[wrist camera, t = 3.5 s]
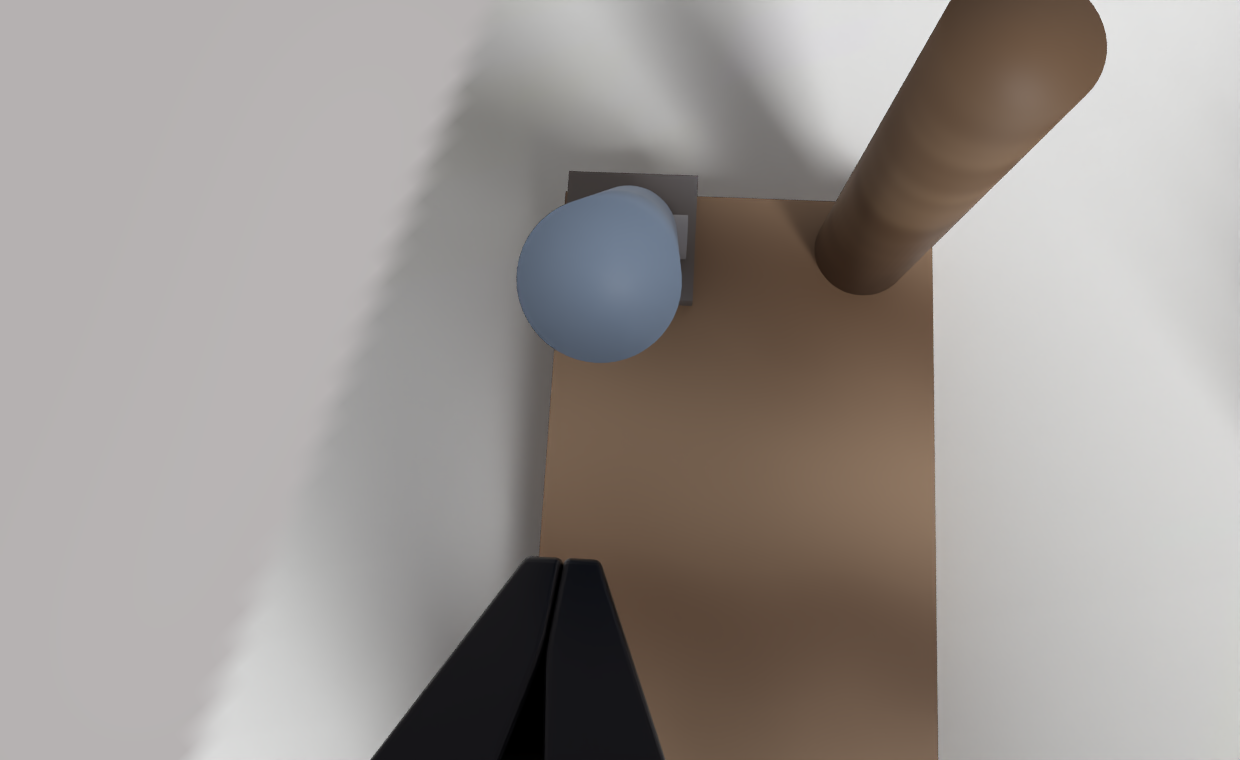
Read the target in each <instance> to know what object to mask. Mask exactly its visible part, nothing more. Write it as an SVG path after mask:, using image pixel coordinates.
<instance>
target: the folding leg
mask: <svg viewBox="0 0 1240 760" xmlns="http://www.w3.org/2000/svg"><path fill="white" fill-rule="evenodd" d="M687 234H688V215H673V214H672V212H671V210H670V208H669V207H668V205H667V204H666V203H665V202H664V201H663V200H662V199H661V198H660V197H659V196H658V195H656V194H655V193H653V192H652V191H650V190H648V189H645V188H642V187H638V186H631V185H628V186H619V187H615V188H612V189H609V190H606V191H603V192H600V193H597V194H594V195H591V196H588V197H585V198H582V199H579V200H576V201H573V202H570V203H567V204H565V205H563V206H561V207H559V208H557V209H555V210H554V211H552V212H551V213H549V214H548V215H547V216H546V217H545V218H543V219H542V220H541V221H540V222H539V223H538V224H537V226H536V227H535V228H534V229H533V231H532V232H531V234H530V235H529V236H528V238H527V240H526V242H525V244H524V246H523V248H522V251H521V254H520V257H519V262H518V267H517V291H518V296H519V301H520V304H521V307H522V310H523V312H524V314H525V316H526V318H527V320H528V322H529V323H530V325H531V326H532V328H533V329H534V331H535V332H536V333H537V334H538V335H539V336H540V338H542V339H543V340H544V341H545V342H546V343H547V344H548V345H550V346H551V347H552V348H554V349H555V350H557V351H558V352H560V353H562V354H564V355H566V356H569V357H571V358H574V359H577V360H581V361H585V362H593V363H609V362H616V361H620V360H624V359H627V358H630V357H632V356H635V355H637V354H639V353H640V352H642V351H644V350H645V349H647V348H648V347H650V346H651V345H652V344H653V343H655V342H656V341H657V340H658V339H659V338H660V337H661V336H662V334H663V333H664V332H665V330H666V329H667V328H668V326H669V325H670V323H671V321H672V319H673V318H674V315H675V313H676V310H677V308H678V304H679V301H680V297H681V288H682V274H681V264H680V259H686V251H687Z"/></svg>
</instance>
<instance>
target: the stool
mask: <svg viewBox="0 0 1240 760" xmlns="http://www.w3.org/2000/svg"><path fill="white" fill-rule="evenodd" d="M1106 54H1107V40H1106V33H1105V30H1104V26H1103V23H1102V21H1101V18H1100V16H1099V14H1098V12H1097V11H1096V9H1095V7H1094V6H1093V5H1092V3H1091V2H1090V1H1089V0H951V1H950V2H949V4H948V6H947V8H946V9H945V11H944V13H943V15H942V16H941V18H940V20H939V22H938V23H937V25H936V27H935V29H934V30H933V32H932V34H931V36H930V37H929V39H928V41H927V43H926V44H925V46H924V48H923V50H922V51H921V53H920V55H919V57H918V58H917V60H916V62H915V64H914V65H913V67H912V69H911V71H910V73H909V74H908V76H907V78H906V80H905V81H904V83H903V85H902V87H901V88H900V90H899V92H898V94H897V95H896V97H895V99H894V101H893V102H892V104H891V106H890V108H889V109H888V111H887V113H886V115H885V116H884V118H883V120H882V122H881V123H880V125H879V127H878V129H877V130H876V132H875V134H874V136H873V137H872V139H871V141H870V143H869V144H868V146H867V148H866V150H865V151H864V153H863V155H862V157H861V158H860V160H859V162H858V164H857V165H856V167H855V169H854V171H853V172H852V174H851V176H850V178H849V179H848V181H847V183H846V185H845V186H844V188H843V190H842V192H841V193H840V195H839V197H838V199H837V200H836V202H834V201H808V200H781V199H754V198H727V197H701V196H697V187H698V176H690V175H662V174H634V173H607V172H579V171H569V181H568V192H567V191H566V194H565V204H567V203H570V202H573V201H576V200H579V199H582V198H585V197H588V196H591V195H594V194H597V193H600V192H603V191H606V190H609V189H612V188H615V187H619V186H628V185H631V186H638V187H642V188H645V189H648V190H650V191H652V192H653V193H655V194H656V195H658V196H659V197H660V198H661V199H662V200H663V201H664V202H665V203H666V204H667V205H668V207H669V208H670V210H671V212H672V214H673V215H688V234H687V251H686V259H680V264H681V274H682V288H681V297H680V301H679V304H678V308H677V310H676V313H675V315H674V318H673V319H672V321H671V323H670V325H669V326H668V328H667V329H666V330H665V332H664V333H663V334H662V336H661V337H660V338H659V339H658V340H657V341H656V342H655V343H653V344H652V345H651V346H650V347H648V348H647V349H645V350H644V351H642V352H640V353H639V354H637V355H635V356H632V357H630V358H627V359H624V360H620V361H616V362H609V363H593V362H585V361H581V360H577V359H574V358H571V357H569V356H566V355H564V354H562V353H560V352H558V351H557V350H555V349H554V358H553V372H552V386H551V399H550V413H549V427H548V440H547V454H546V467H545V481H544V495H543V508H542V522H541V536H540V549H539V557H557V558H560V559H561V560H562V561H563V563H564V562H565V560H567V559H569V558H579V559H596V560H598V561H600V563H601V564H602V566H603V569H604V572H605V575H606V578H607V581H608V584H609V587H610V591H611V594H612V597H613V600H614V603H615V606H616V609H617V612H618V615H619V618H620V621H621V624H622V627H623V630H624V634H625V637H626V640H627V643H628V646H629V649H630V652H631V655H632V658H633V661H634V664H635V667H636V670H637V673H638V677H639V680H640V683H641V686H642V689H643V692H644V695H645V698H646V701H647V704H648V707H649V710H650V713H651V716H652V720H653V723H654V726H655V729H656V732H657V735H658V738H659V741H660V744H661V747H662V750H663V753H664V756H665V759H666V760H938V714H937V626H936V539H935V451H934V363H933V275H932V247H933V246H934V245H935V244H936V243H937V242H938V241H939V240H940V239H941V238H942V237H943V236H944V235H945V234H946V233H947V232H948V231H949V230H950V229H951V228H952V227H953V226H954V225H955V224H956V223H957V222H958V221H959V220H960V219H961V218H962V217H963V216H964V215H965V214H966V213H967V212H968V211H969V210H970V209H971V208H972V207H973V206H974V205H975V204H976V203H977V202H978V201H979V200H980V199H981V198H982V197H983V196H984V195H985V194H986V193H987V192H988V191H989V190H990V189H991V188H992V187H993V186H994V185H995V184H996V183H997V182H998V181H999V180H1000V179H1001V178H1002V177H1004V176H1005V175H1006V174H1007V173H1008V172H1009V171H1010V170H1011V169H1012V168H1013V167H1014V166H1015V165H1016V164H1017V163H1018V162H1019V161H1020V160H1021V159H1022V158H1023V157H1024V156H1025V155H1026V154H1027V153H1028V152H1029V151H1030V150H1031V149H1032V148H1033V147H1034V146H1035V145H1036V144H1037V143H1038V142H1039V141H1040V140H1041V139H1042V138H1043V137H1044V136H1045V135H1046V134H1047V133H1048V132H1049V131H1050V130H1051V129H1052V128H1053V127H1054V126H1055V125H1056V124H1057V123H1058V122H1059V121H1060V120H1061V119H1062V118H1063V117H1064V116H1065V115H1066V114H1067V113H1068V112H1069V111H1070V110H1071V109H1072V108H1073V107H1074V106H1076V105H1077V104H1078V103H1079V102H1080V101H1081V100H1082V99H1083V98H1084V97H1085V96H1086V95H1087V94H1088V92H1089V91H1090V90H1091V89H1092V88H1093V87H1094V85H1095V84H1096V82H1097V81H1098V79H1099V77H1100V75H1101V73H1102V71H1103V68H1104V65H1105V60H1106Z"/></svg>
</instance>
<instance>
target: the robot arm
mask: <svg viewBox="0 0 1240 760" xmlns="http://www.w3.org/2000/svg"><path fill="white" fill-rule="evenodd" d="M371 760H666V759H665V756H664V753H663V750H662V747H661V744H660V741H659V738H658V735H657V732H656V729H655V726H654V723H653V720H652V716H651V713H650V710H649V707H648V704H647V701H646V698H645V695H644V692H643V689H642V686H641V683H640V680H639V677H638V673H637V670H636V667H635V664H634V661H633V658H632V655H631V652H630V649H629V646H628V643H627V640H626V637H625V634H624V630H623V627H622V624H621V621H620V618H619V615H618V612H617V609H616V606H615V603H614V600H613V597H612V594H611V591H610V587H609V584H608V581H607V578H606V575H605V572H604V569H603V566H602V564H601V563H600V561H598V560H596V559H579V558H569V559H567V560H565V562H564V563H563V561H562V560H561V559H560V558H557V557H539V556H531V557H528V558H526V559H525V560H524V561H523V562H522V563H521V564H520V566H519V567H518V568H517V569H516V571H515V572H514V573H513V575H512V576H511V577H510V579H509V580H508V581H507V583H506V584H505V585H504V586H503V588H502V589H501V590H500V592H499V593H498V594H497V596H496V597H495V598H494V599H493V601H492V602H491V603H490V605H489V606H488V607H487V609H486V610H485V611H484V612H483V614H482V615H481V616H480V618H479V619H478V620H477V622H476V623H475V624H474V626H473V627H472V628H471V629H470V631H469V632H468V633H467V635H466V636H465V637H464V639H463V640H462V641H461V642H460V644H459V645H458V646H457V648H456V649H455V650H454V652H453V653H452V654H451V656H450V657H449V658H448V659H447V661H446V662H445V663H444V665H443V666H442V667H441V669H440V670H439V671H438V672H437V674H436V675H435V676H434V678H433V679H432V680H431V682H430V683H429V684H428V685H427V687H426V688H425V689H424V691H423V692H422V693H421V695H420V696H419V697H418V699H417V700H416V701H415V702H414V704H413V705H412V706H411V708H410V709H409V710H408V712H407V713H406V714H405V715H404V717H403V718H402V719H401V721H400V722H399V723H398V725H397V726H396V727H395V729H394V730H393V731H392V732H391V734H390V735H389V736H388V738H387V739H386V740H385V742H384V743H383V744H382V745H381V747H380V748H379V749H378V751H377V752H376V753H375V755H374V756H373V757H372V758H371Z"/></svg>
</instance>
